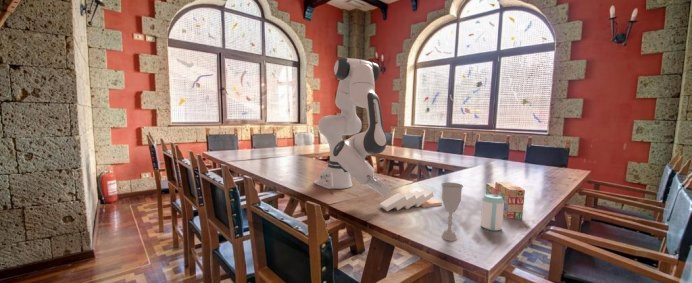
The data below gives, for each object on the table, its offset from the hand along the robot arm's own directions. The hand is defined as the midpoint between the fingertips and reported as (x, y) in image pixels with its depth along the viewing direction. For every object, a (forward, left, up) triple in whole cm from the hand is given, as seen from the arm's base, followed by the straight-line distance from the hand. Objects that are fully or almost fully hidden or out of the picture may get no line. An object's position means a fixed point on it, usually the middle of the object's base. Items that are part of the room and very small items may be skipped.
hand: (384, 194), depth 126 cm
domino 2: (+2, +4, -5) cm, 7 cm away
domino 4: (+7, +13, -5) cm, 15 cm away
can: (+40, +11, -7) cm, 42 cm away
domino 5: (+9, +15, -6) cm, 19 cm away
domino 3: (+5, +8, -5) cm, 11 cm away
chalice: (+32, -8, -7) cm, 34 cm away
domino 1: (0, 0, -5) cm, 5 cm away
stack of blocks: (+38, +35, -7) cm, 52 cm away
